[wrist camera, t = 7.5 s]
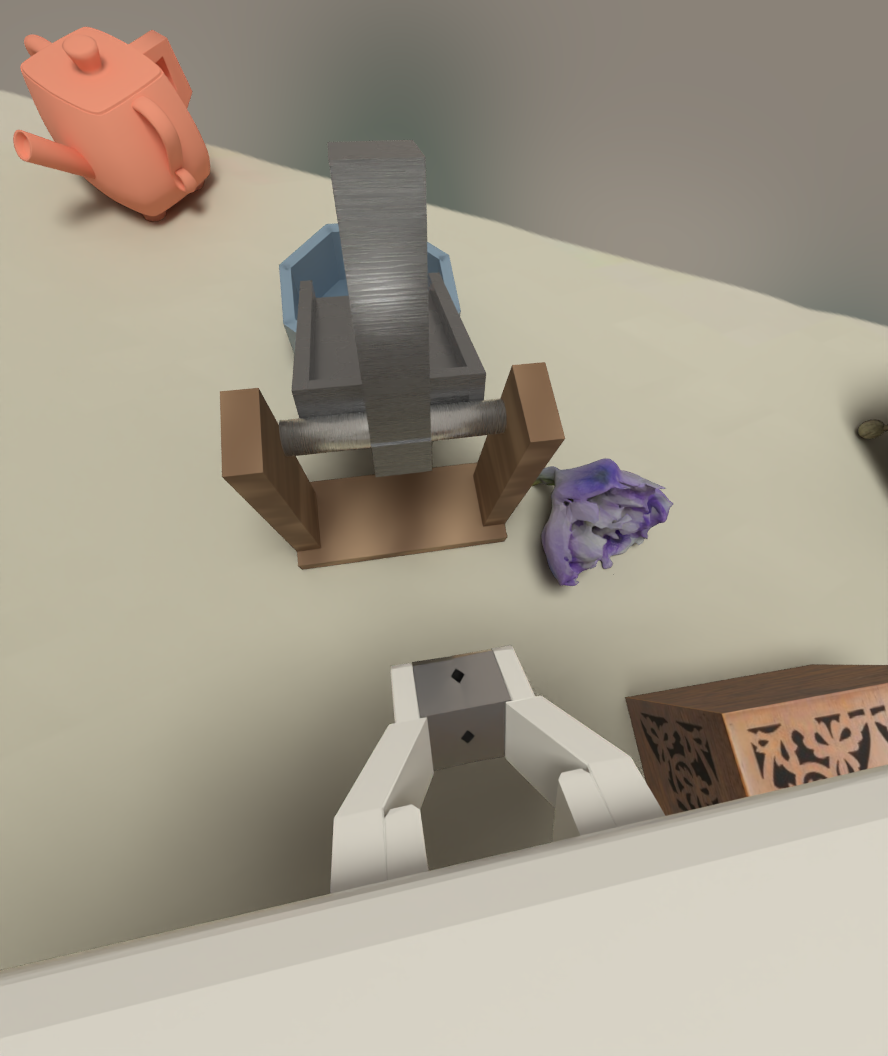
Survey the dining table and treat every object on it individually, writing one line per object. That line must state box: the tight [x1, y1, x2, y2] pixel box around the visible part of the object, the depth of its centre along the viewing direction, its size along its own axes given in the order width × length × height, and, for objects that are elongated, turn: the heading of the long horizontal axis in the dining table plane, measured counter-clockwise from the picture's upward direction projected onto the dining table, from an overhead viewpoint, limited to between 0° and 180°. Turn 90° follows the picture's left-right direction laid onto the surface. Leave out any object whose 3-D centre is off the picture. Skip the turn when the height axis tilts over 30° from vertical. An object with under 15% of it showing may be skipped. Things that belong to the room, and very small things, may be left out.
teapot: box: [13, 27, 210, 221], centre depth 35 cm, size 12×12×10 cm
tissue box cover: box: [625, 665, 888, 816], centre depth 23 cm, size 26×14×10 cm, turn 9°
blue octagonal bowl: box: [279, 224, 461, 354], centre depth 35 cm, size 13×13×5 cm
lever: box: [279, 140, 507, 477], centre depth 20 cm, size 10×15×11 cm, turn 9°
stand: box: [220, 362, 565, 570], centre depth 26 cm, size 15×6×14 cm, turn 99°
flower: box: [532, 458, 673, 586], centre depth 30 cm, size 9×9×10 cm
